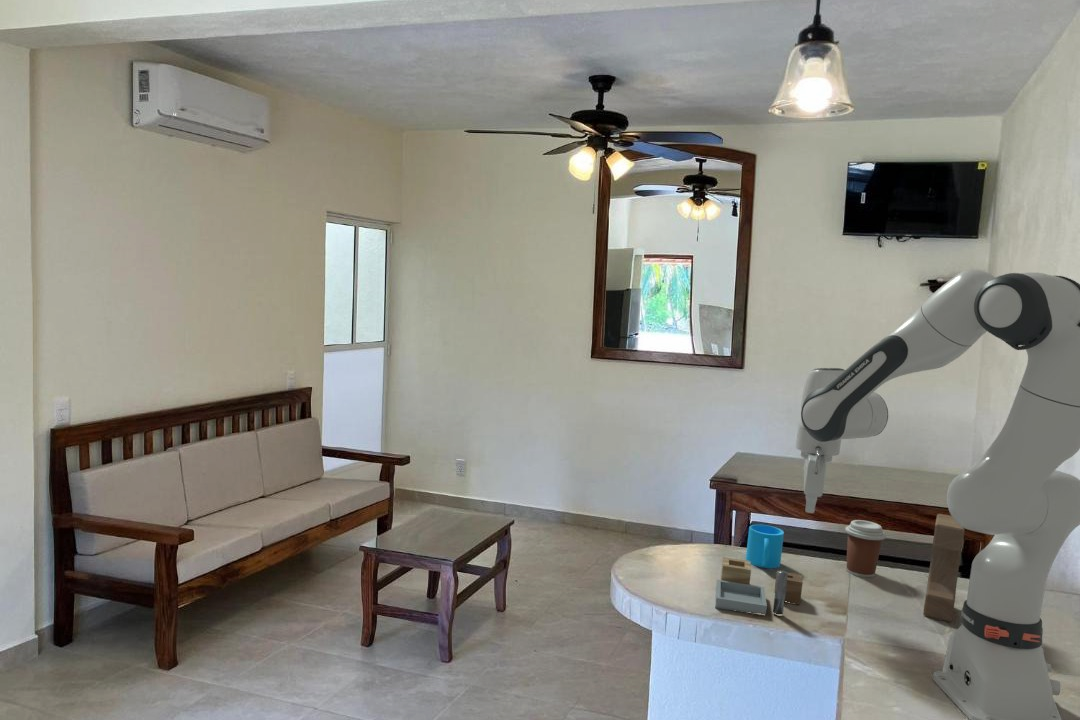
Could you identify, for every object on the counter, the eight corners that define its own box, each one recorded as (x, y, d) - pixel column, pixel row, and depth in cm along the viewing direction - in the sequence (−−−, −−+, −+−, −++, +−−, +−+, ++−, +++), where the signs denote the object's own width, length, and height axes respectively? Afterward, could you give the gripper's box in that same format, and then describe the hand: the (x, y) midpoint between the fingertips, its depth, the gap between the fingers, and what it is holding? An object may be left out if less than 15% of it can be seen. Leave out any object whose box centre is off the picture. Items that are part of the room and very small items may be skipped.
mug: (745, 554, 205) (748, 522, 204) (779, 559, 203) (783, 527, 203) (746, 570, 193) (750, 536, 193) (782, 575, 192) (786, 541, 191)
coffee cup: (851, 563, 205) (857, 516, 204) (887, 575, 198) (893, 526, 197) (833, 570, 199) (839, 521, 197) (870, 582, 192) (876, 532, 191)
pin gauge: (783, 617, 167) (788, 574, 166) (773, 615, 167) (777, 573, 166) (782, 613, 169) (787, 571, 168) (772, 612, 169) (777, 569, 168)
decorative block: (951, 623, 171) (964, 530, 169) (921, 616, 174) (934, 524, 172) (954, 606, 181) (966, 518, 179) (925, 600, 183) (937, 512, 181)
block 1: (748, 592, 179) (751, 569, 179) (720, 587, 181) (723, 565, 180) (747, 582, 185) (750, 561, 185) (720, 578, 186) (723, 557, 186)
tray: (765, 616, 167) (766, 605, 166) (715, 608, 169) (716, 597, 168) (763, 596, 177) (764, 586, 177) (715, 589, 179) (716, 579, 179)
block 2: (799, 605, 174) (802, 582, 174) (775, 601, 175) (778, 578, 175) (797, 596, 179) (800, 574, 179) (774, 592, 180) (776, 570, 180)
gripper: (835, 455, 163) (826, 522, 164) (832, 436, 182) (824, 496, 184) (802, 450, 165) (793, 516, 166) (802, 432, 184) (794, 491, 186)
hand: (809, 506), depth 175 cm, fingers open, 8 cm apart
